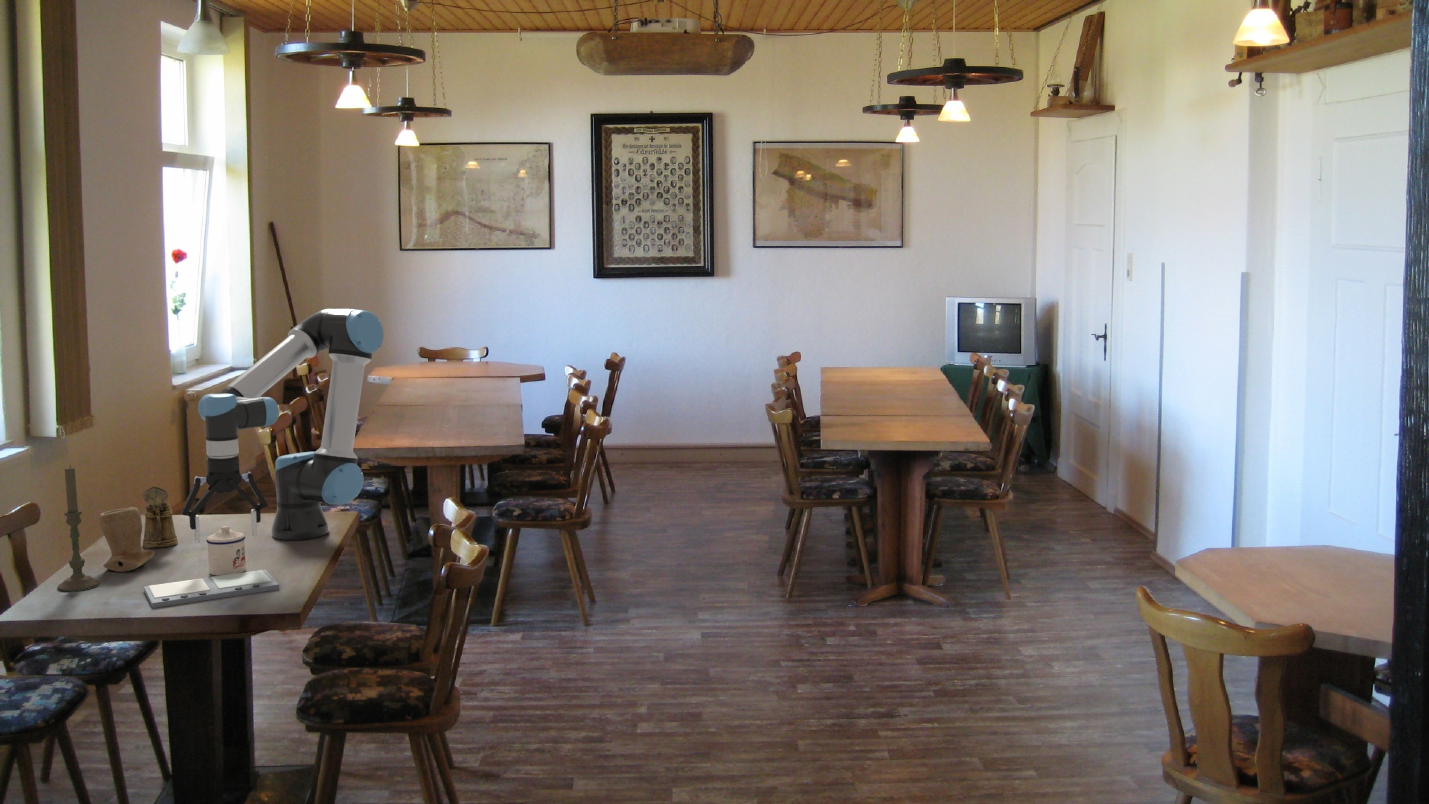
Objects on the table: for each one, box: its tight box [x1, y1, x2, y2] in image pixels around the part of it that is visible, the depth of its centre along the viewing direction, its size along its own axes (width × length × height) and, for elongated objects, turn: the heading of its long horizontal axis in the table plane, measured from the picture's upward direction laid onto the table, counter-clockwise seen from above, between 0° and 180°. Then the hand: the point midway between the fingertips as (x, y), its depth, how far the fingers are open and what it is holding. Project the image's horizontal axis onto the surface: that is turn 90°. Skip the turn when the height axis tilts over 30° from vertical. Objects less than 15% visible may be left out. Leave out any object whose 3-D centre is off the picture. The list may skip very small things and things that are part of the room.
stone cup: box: [99, 506, 155, 573], centre depth 316 cm, size 15×12×15 cm
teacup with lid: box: [206, 525, 247, 576], centre depth 312 cm, size 12×9×12 cm
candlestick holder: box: [57, 464, 100, 592], centre depth 297 cm, size 9×9×30 cm
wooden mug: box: [142, 486, 178, 549], centre depth 335 cm, size 9×14×18 cm, turn 20°
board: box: [143, 569, 280, 609], centre depth 296 cm, size 28×15×1 cm, turn 121°
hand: (226, 538), depth 312 cm, fingers open, 13 cm apart
